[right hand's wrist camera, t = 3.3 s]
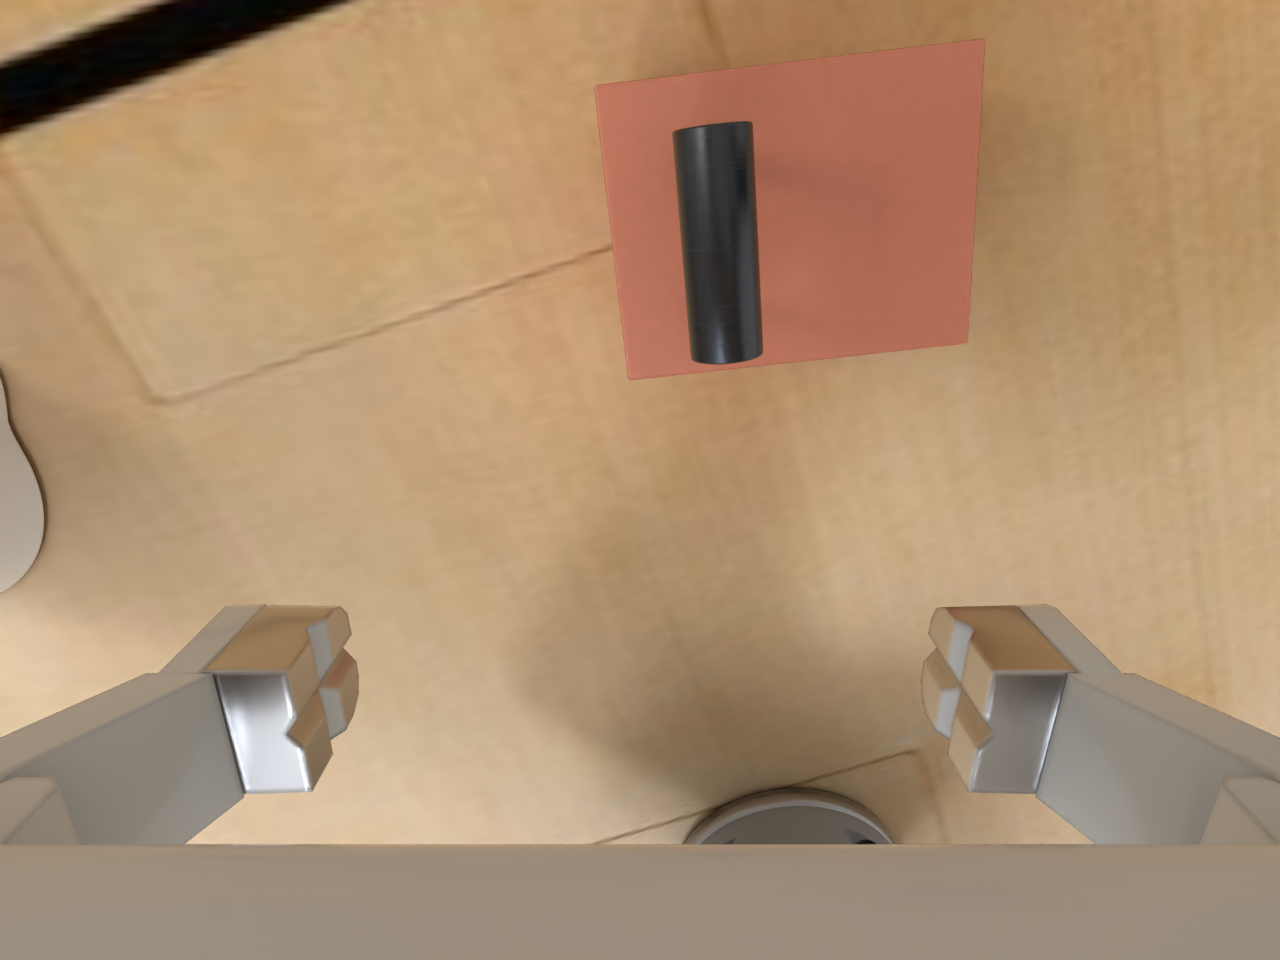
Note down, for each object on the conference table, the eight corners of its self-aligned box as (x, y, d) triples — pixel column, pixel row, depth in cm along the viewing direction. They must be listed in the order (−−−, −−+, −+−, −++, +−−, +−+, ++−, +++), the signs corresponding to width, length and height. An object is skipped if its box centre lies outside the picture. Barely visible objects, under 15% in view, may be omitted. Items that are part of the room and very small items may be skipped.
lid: (628, 374, 27) (627, 448, 20) (594, 89, 24) (578, 40, 16) (956, 338, 27) (1089, 398, 19) (971, 43, 24) (1142, -29, 16)
